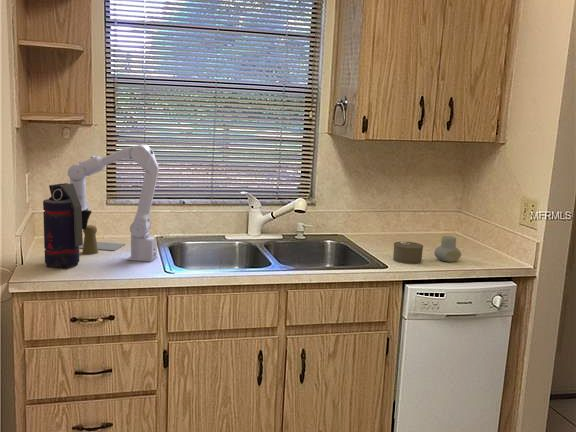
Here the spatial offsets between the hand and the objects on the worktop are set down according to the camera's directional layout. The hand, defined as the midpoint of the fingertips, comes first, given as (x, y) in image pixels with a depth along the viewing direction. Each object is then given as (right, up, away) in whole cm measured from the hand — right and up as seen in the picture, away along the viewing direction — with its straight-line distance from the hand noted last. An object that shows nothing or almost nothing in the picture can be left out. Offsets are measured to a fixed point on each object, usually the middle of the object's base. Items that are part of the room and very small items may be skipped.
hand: (78, 231), depth 234 cm
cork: (+1, -9, +9) cm, 13 cm away
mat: (+3, -7, +20) cm, 21 cm away
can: (+130, -13, +19) cm, 132 cm away
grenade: (-1, -13, -11) cm, 17 cm away
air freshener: (+147, -13, +22) cm, 150 cm away
